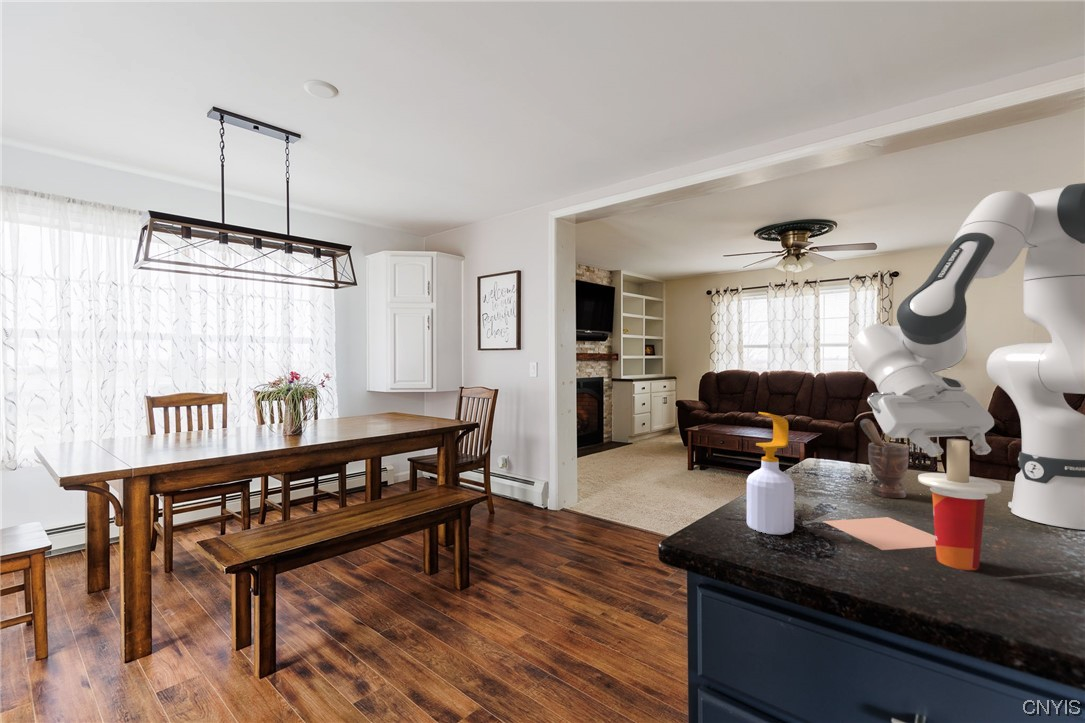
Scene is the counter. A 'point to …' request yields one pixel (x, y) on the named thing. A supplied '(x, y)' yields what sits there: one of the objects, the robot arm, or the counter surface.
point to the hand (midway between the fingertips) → (961, 453)
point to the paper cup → (958, 527)
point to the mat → (885, 533)
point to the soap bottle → (771, 487)
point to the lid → (959, 473)
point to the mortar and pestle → (886, 463)
